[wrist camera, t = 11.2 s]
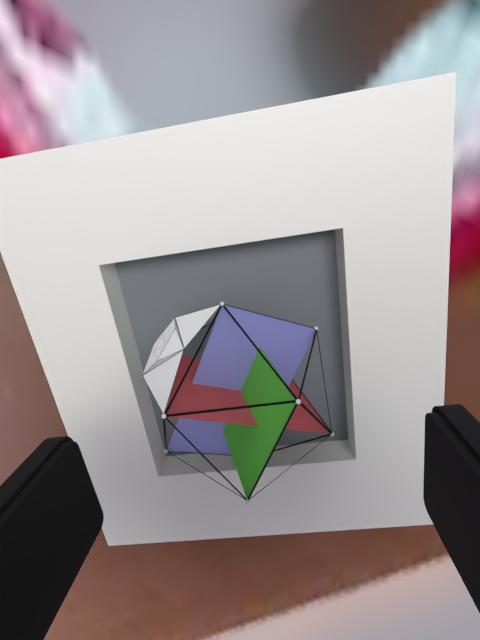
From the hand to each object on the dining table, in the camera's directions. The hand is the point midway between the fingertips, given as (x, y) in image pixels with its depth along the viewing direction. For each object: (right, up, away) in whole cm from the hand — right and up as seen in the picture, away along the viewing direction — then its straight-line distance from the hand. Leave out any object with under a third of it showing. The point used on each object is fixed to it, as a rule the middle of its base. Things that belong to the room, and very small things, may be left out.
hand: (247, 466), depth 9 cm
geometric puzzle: (0, +2, +8) cm, 8 cm away
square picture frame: (0, +2, +8) cm, 9 cm away
